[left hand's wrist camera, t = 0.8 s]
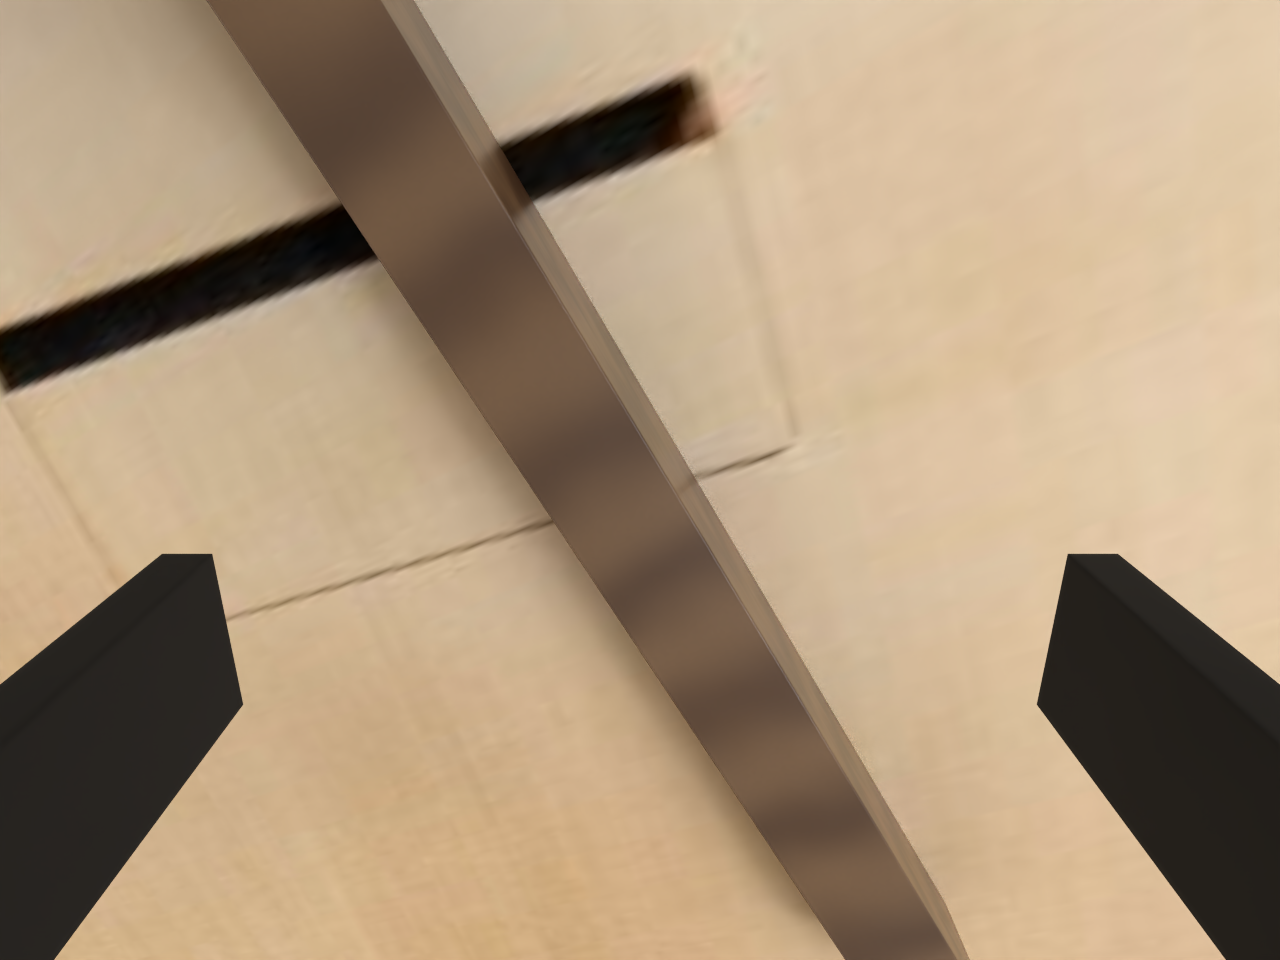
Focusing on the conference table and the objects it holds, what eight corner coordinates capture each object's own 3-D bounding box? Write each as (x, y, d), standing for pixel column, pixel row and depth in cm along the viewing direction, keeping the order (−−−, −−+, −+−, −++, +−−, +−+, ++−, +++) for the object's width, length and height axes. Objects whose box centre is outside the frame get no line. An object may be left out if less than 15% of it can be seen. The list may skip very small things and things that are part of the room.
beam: (-52, -513, 25) (-310, -774, 19) (54, -611, 25) (-173, -921, 18) (873, 933, 47) (915, 1066, 40) (945, 903, 46) (1001, 1033, 39)
